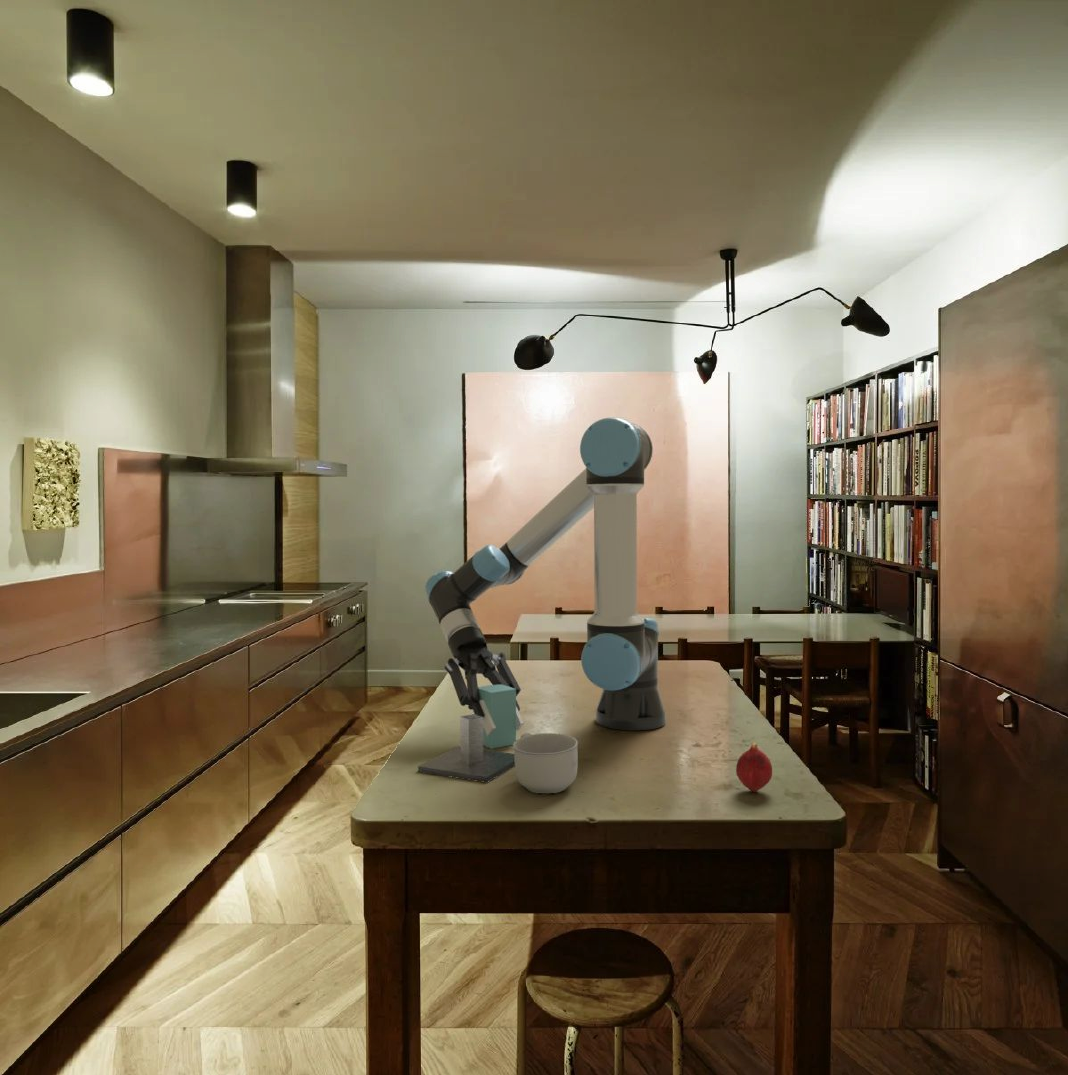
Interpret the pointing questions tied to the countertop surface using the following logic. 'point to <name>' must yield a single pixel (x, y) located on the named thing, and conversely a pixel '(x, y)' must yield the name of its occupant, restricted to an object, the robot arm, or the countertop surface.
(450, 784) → the countertop surface
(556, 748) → the teacup
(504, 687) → the teal upright box
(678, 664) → the countertop surface
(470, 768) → the gray square peg stand
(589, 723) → the countertop surface
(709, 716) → the countertop surface
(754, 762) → the onion
